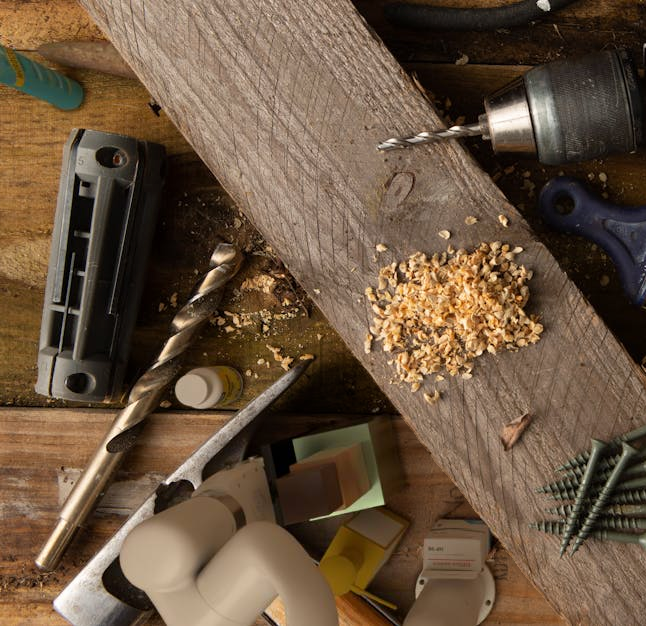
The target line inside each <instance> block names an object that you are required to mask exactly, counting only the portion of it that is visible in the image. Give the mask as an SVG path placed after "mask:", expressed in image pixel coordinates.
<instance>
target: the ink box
mask: <svg viewBox="0 0 646 626" xmlns="http://www.w3.org/2000/svg"><path fill="white" fill-rule="evenodd" d="M484 520H485V519H442V518H441V519H438V520H437V521H436V523H435V524H434V525H433V527H432V528H431V530H429V532H428V533H427V535H426V536H425V537H424V539H423V557H422V558H423V559H422V570H423V571H424V572H423V573H422V574H421V576H420V577H421V578H443V579H476V578H477V576H478V574H479V572H481V570H482V568H483V565H484V563H485V564H486V560H487V558H488V555H489V553H490V550H491V527H490V528H489V527H488V525H487V524H486V523H485V522H484ZM442 574H443V575H442ZM448 575H451V576H448Z"/></svg>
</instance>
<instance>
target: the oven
mask: <svg viewBox="0 0 646 626" xmlns="http://www.w3.org/2000/svg"><path fill="white" fill-rule="evenodd" d="M316 429H317V430H315V431H312V432H310V433H307V434H305V435H302V436H300V437H297V438H295V439H293V440H292V441H293V445H294V450H295V455H296V459H297V462H299V461H301V460H303V459H305V458H307V457H310V456H312V455H314V454H316V453H318V452H320V451H324V450H328V449H333V448H337V447H342V446H346V445H351V444H356V443H361V446H362V451H363V455H364V460H365V465H366V469H367V474H368V479H369V483H370V488H371V490H370V491H369V492H367V493H366V494H365V495H364V496H362V497H361V498H360V499H359V500H357V501H356V502H355V503H354V504H352V505H351V506H350V507H349V508H347V509H346V510H341V511H337V512H333V513H332V514H330V515H328V516H323V517H319V518H314V519H310V520H309V522H312V521H313V522H314V521H317V520H322V519H326V518H330V517H335V516H340V515H345V514H348V513H353V512H358V511H359V510H363V509H367V508H372V507H376V506H381V507H382V506H385V505H386V504H387V503H388V502H389V501H391V500H392V499H393V498H394V497H395V496H396V495H397V494H398V493H399V492H401V490H402V489H403V488H404V487H405V486H406V485H405V480H404V474H403V470H402V466H401V461H400V457H399V452H398V448H397V443H396V437H395V433H394V429H393V424H392V420H391V415H390V413H389V412H387V413H382V414H378V415H373V416H369V417H363V418H359V419H354V420H351V421H346V422H340V423H336V424H332V425H327V426H323V427H320V428H319V429H318V428H316Z"/></svg>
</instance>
